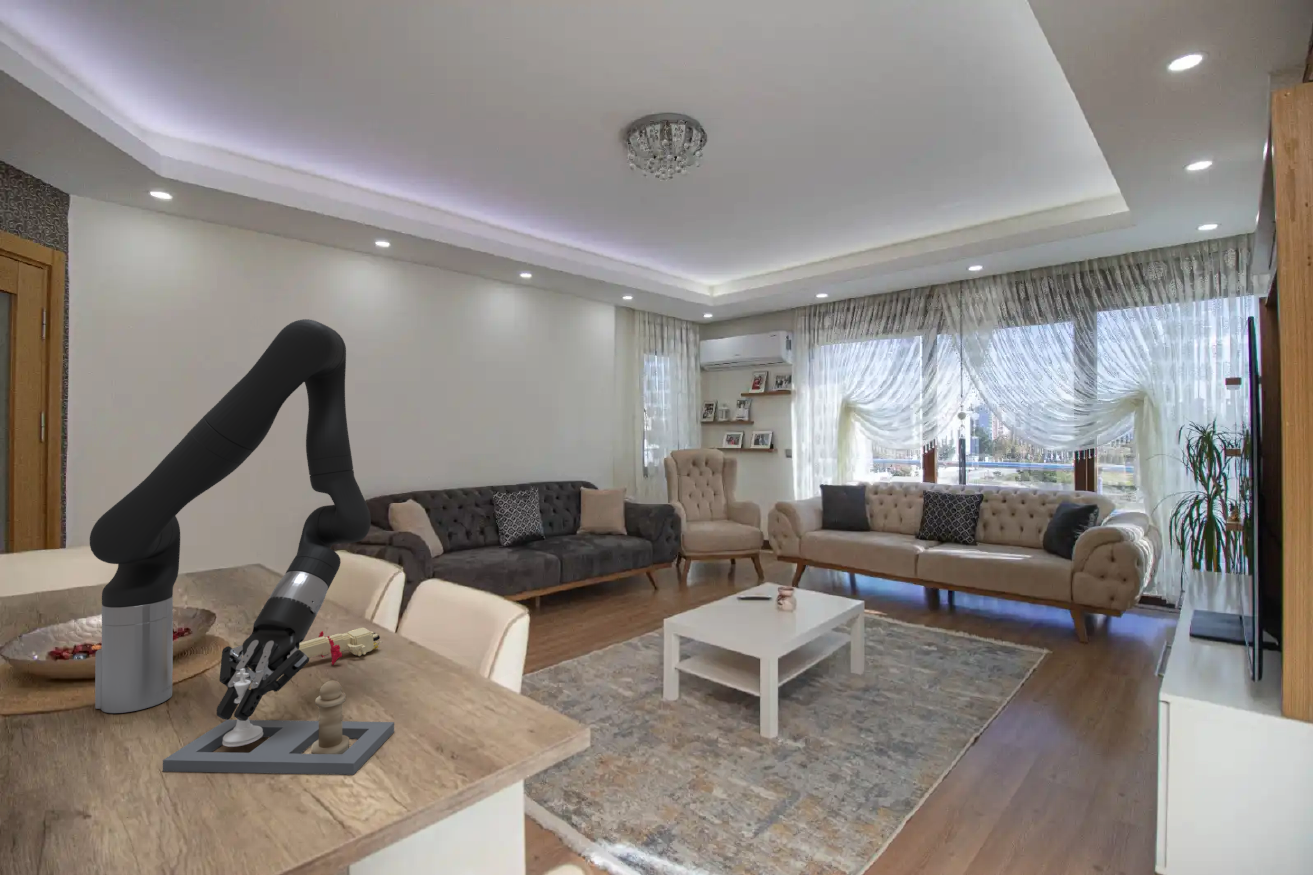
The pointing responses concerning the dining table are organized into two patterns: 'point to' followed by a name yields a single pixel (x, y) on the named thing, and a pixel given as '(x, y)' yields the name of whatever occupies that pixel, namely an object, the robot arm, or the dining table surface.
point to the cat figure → (341, 644)
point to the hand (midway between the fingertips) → (231, 717)
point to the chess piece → (243, 729)
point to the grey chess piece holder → (281, 749)
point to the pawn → (330, 721)
